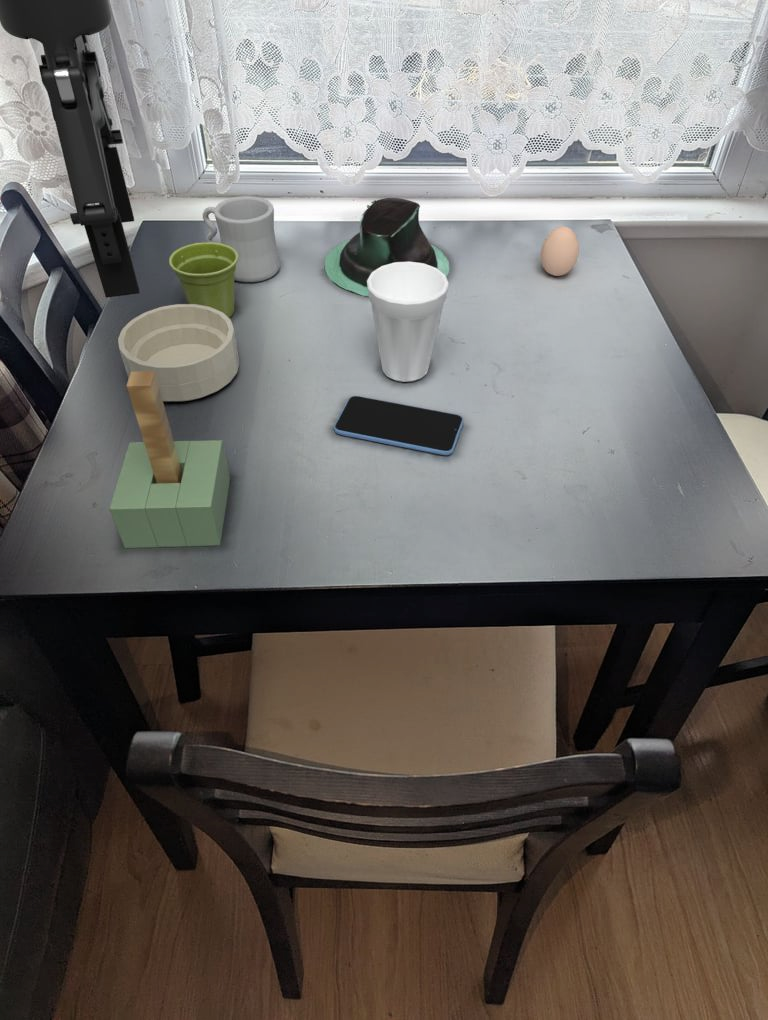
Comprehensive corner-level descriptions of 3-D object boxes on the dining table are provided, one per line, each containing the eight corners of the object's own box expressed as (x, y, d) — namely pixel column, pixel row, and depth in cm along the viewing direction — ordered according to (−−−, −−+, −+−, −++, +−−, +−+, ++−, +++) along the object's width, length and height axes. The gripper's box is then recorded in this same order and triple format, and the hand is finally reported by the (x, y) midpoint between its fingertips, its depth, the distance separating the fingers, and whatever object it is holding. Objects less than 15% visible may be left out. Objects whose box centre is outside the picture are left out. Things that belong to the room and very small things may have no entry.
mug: (291, 263, 118) (285, 201, 111) (262, 289, 112) (254, 226, 105) (225, 247, 121) (215, 187, 114) (194, 273, 116) (182, 211, 108)
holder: (124, 548, 76) (108, 509, 72) (142, 481, 83) (129, 441, 79) (220, 545, 77) (210, 506, 72) (230, 479, 84) (222, 439, 79)
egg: (578, 282, 114) (588, 235, 109) (543, 284, 114) (551, 237, 108) (567, 263, 118) (577, 218, 113) (533, 266, 118) (540, 220, 112)
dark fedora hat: (447, 299, 109) (314, 296, 110) (448, 296, 126) (333, 293, 128) (452, 190, 104) (314, 188, 106) (452, 203, 122) (334, 201, 123)
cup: (364, 391, 95) (363, 301, 85) (371, 347, 102) (370, 259, 92) (441, 394, 94) (448, 304, 85) (442, 350, 101) (449, 262, 92)
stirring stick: (168, 520, 79) (126, 385, 66) (171, 505, 81) (130, 371, 68) (188, 519, 79) (150, 385, 66) (191, 504, 81) (154, 370, 68)
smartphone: (350, 393, 93) (465, 414, 90) (350, 398, 94) (464, 420, 91) (331, 429, 88) (452, 452, 85) (331, 434, 89) (451, 458, 86)
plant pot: (210, 289, 112) (200, 235, 106) (258, 307, 109) (251, 252, 102) (167, 318, 107) (154, 262, 100) (217, 337, 103) (207, 281, 97)
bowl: (158, 421, 91) (147, 381, 86) (112, 365, 98) (100, 327, 94) (259, 379, 97) (253, 340, 92) (208, 330, 104) (201, 292, 100)
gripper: (98, 2, 42) (173, 323, 57) (98, -73, 59) (156, 192, 74) (-42, 9, 41) (73, 336, 56) (-1, -70, 57) (79, 200, 73)
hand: (121, 255), depth 65 cm, fingers open, 13 cm apart
